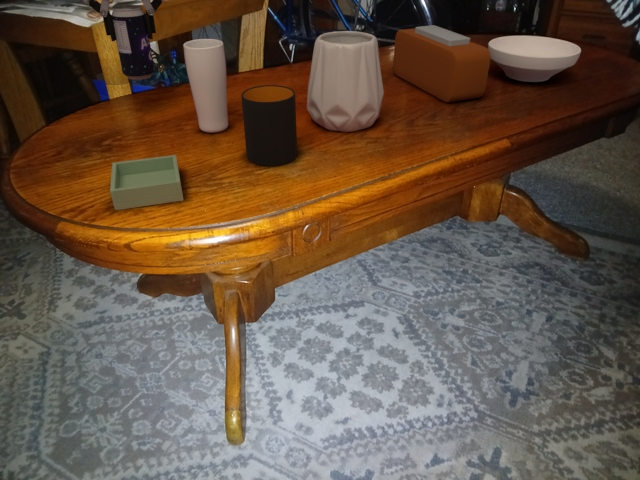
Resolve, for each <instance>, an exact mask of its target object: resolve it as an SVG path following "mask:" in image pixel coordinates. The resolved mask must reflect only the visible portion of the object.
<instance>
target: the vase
mask: <svg viewBox="0 0 640 480" xmlns="http://www.w3.org/2000/svg"><path fill="white" fill-rule="evenodd" d="M379 51H380V50H379V43H378V39H377V37H376V36H375V35H374V34H371V33H368V32H362V31H355V30H342V31H341V30H340V31H337V30H336V31H335V30H334V31H329V32H325V33H322V34H320V35H319V36H317V38H316V39H315V41H314V45H313V51H312V59H311V64H310V73H309V77H308V83H307V91H306V92H307V94H306V96H307V97H306V109H307V112H308V114H309V115H310V118H311V119H312V120H313V122H315V124H317V125H319V126H321V127H322V128H324V129H325V130H327V131H333V132H344V133H345V132H346V133H352V132H357V131H360V130H364V129H368V128H370V127H372V125H374V123H375V122H376V120H377V119H379V117H380V113H381V107H382V104H383V100H384V95H385V90H384V85H383V83H384V82H383V76H382V70H381V60H380V52H379Z"/></svg>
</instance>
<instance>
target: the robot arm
mask: <svg viewBox="0 0 640 480" xmlns="http://www.w3.org/2000/svg"><path fill="white" fill-rule="evenodd" d="M110 1H111V0H101V2H99V1H98V0H82V2H84V3H85V4H87V5H88V6H89V7H90V8H92V9H93V10H94V11H95V12H96V13H98V14H99V15H100V16H101V17H102V20H103V24H104V29H105V34H106V36H107V37H108V36H110V40H111V42H116V37H115V32H114V27H113V22H112V17H111V15H112V13H111V11H110V10H109V8H110V4H111V3H110ZM140 1H141V3H142V5H143V7H144V9H145V19H146V25H147V31H148V37H149V40H154V36H153V34H157V29H156V24H155V18H154V17H155V16H154V15H155V13H156V11H157V10H158V9H159V8H160V6H161V5H162V4H163V2H164V1H165V0H152V1H151V0H140Z"/></svg>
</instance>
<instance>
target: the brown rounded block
mask: <svg viewBox="0 0 640 480" xmlns="http://www.w3.org/2000/svg"><path fill="white" fill-rule="evenodd" d="M393 49H394V50H393V63H392V64H393V65H392V67H393V68H392V69H393V72H394V74H395V75H396V76H397V77H399V78H401V79H402V80H404V81H406V82H408V83H410V84H411V85H413V86H415V87H416V88H419V89H420V90H423V91H424V92H425V93H428V94H430V95H431V96H433V97H435V98H437V99H438V100H441V101H442V102H444V103H447V104H449V103H454V102H455V103H456V102H460V101H467V100H473V99H479V98H482V96H483V95H484V94H485V92H486V87H487V81H488V75H489V71H490V65H491V59H490V57H491V56H490V52H489V50H488V47H486V46H483V45H481V44H477V43H475V42H472V41H471V37H468V36H465V35H463V34H460V33H457V32H454V31H452V30H448V29H446V28H443V27H440V26H437V25H434V24H431V25H421V26H416V27H414V28H407V29H405V28H404V29H399V30H397V32H396V34H395V38H394V48H393Z"/></svg>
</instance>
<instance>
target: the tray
mask: <svg viewBox="0 0 640 480" xmlns="http://www.w3.org/2000/svg"><path fill="white" fill-rule="evenodd" d="M177 157H178V156H177V155H176V154H172V155H164V156H156V157H147V158H140V159H139V158H138V159H131V160H123V161H116V162H111V163H112V164H111V174H110V175H111V176H110V188H109V193H110V197H111V200H112V204H113V208H114V211H121V210H127V209H135V208H142V207H149V206H156V205H162V204H163V205H164V204H169V203H177V202H183V201H184V193H183V188H182V181H181V176H180V169H179V164H178V158H177Z"/></svg>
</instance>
